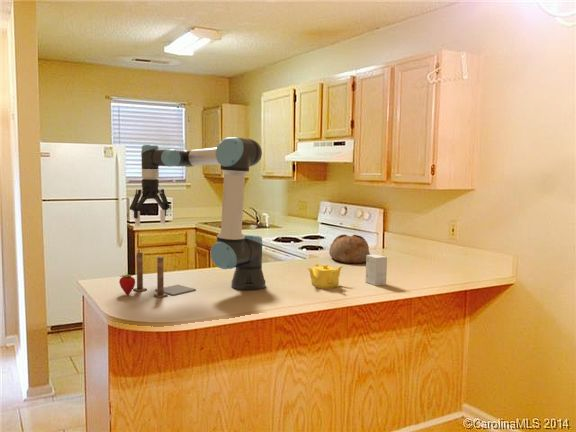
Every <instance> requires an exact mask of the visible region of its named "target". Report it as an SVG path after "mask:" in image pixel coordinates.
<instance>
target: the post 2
mask: <svg viewBox="0 0 576 432" xmlns="http://www.w3.org/2000/svg"><path fill="white" fill-rule="evenodd" d="M156 262H157V264H156V266H157V267H156V273H157V275H156V277H157V278H156V279H157V282H156V283H157V287H156V289H157V291H156V292H157V293H153V295H152V296H153V297H154V298H158V299H161V298H166V297H168V295H169V294H165V293H164V257H163V256H157V260H156Z"/></svg>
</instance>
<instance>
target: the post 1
mask: <svg viewBox="0 0 576 432" xmlns="http://www.w3.org/2000/svg"><path fill="white" fill-rule="evenodd" d="M143 258H144V254H143V252H136V287H135V288H133V289H132V291H133V292H136V293H140V292H145V291H147V290H148V289H147V288H146V287H144V275H143V273H144V265H143V264H144V263H143V262H144V259H143Z"/></svg>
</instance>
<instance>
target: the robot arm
mask: <svg viewBox="0 0 576 432" xmlns="http://www.w3.org/2000/svg"><path fill="white" fill-rule="evenodd" d="M140 156H141V178H142V179H141V189H139V188H137V189H135V194H134V197H133V198H132V201H131V204H130V206H129V211H133V219H134V221H135V222H134V225H135V226H138V227H140V226H141V211H139V210H140V209H141V207H142V206H143V205H144V203H145V202H146V201H147V200H151V199H152V200H155V201H156V203H157V205H158V206H159V207H160V221H159V223H160V224H164V225H165V224H166V217H167V210H168V209H170V208H171V206H170V203H169V201H168V199H167V196H166V194H165V189H164V188H159V185H160V183H159V175H160V174H159V173H160V172H159V170H160V169H159V167H186V168H189V167H190V168H191V167H197V166H211V165H212V166H213V165H220V171H221V172H222V173H223V183H222V184H223V185H222V186H223V189H222V205H221V206H222V207H221V208H222V209H221V225H220V232H219V233H218V234H217V235H216V242H215V243H214V244H213V245H211V248H210V258H211V260H212V262H213V263H214V265H215V266H216V267H218V269H220V270H221V269H222V270H232V269H234V268H235V270H234V274H233V277H232V279H231V288H233V289H236V290H243V291H256V290H261V289H264V288H265V287H266V279H265V277H264V272H263V266H262V265H263V239H262V237H261V236H260V235H254V234H253V235H252V234H251V235H250V234H243V233H242V230H243V229H242V228H243V217H244V216H243V214H244V197H245V181H246V177H245V176H246V175H247V174H248V173H249V172H250V167H253V166H255V165H256V166H257V164H258V163H259V162H260V160H261V159H262V156H263V151H262V147H261V145H260V144H259V142H257V141H256V140H255V139H252V138H251V139H250V138H244V137H238V136H237V137H236V136H234V137H232V136H231V137H226V138H223V139H222V140H220V142H219V143H218V144H217V146H216V147H208V148H200V149H199V148H198V149H181V150H180V149H173V148H167V149H164V148H163V149H161V148H160V149H159V146H158V145H157V144H143V145H142V146H141V152H140ZM158 194H159V195H158Z"/></svg>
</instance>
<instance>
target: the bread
mask: <svg viewBox="0 0 576 432" xmlns="http://www.w3.org/2000/svg"><path fill="white" fill-rule="evenodd" d="M369 248H370V247H369V244H368V241H366V239H365V238H364V237H363V236H361V235H358V234H353V235H347V234H339V235H338V236H336V237H335V238H334V239H333V241H332V243H331V244H330V247H329V251H328V252H329V256H330V257H331V258H332V260H335V261H336V262H342V263H344V264H363V263H366V255H371V253H370V249H369Z"/></svg>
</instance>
